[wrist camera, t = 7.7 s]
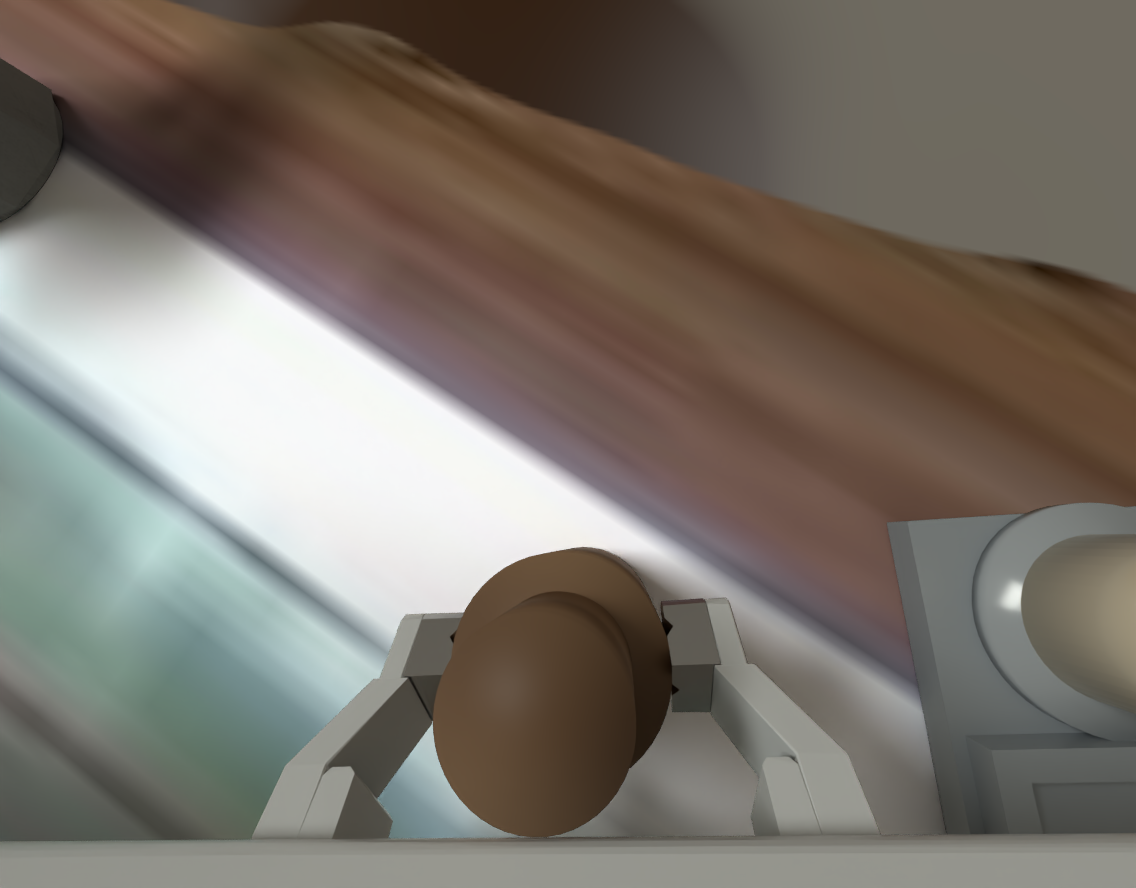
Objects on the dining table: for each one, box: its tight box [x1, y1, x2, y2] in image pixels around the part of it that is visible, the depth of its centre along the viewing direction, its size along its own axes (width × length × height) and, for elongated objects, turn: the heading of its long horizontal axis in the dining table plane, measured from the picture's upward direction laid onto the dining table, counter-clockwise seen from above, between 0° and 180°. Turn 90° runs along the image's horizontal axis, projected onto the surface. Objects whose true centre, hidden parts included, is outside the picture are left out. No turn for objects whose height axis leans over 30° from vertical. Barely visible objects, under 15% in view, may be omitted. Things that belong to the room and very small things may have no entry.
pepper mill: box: [433, 547, 672, 837], centre depth 12 cm, size 5×5×10 cm
